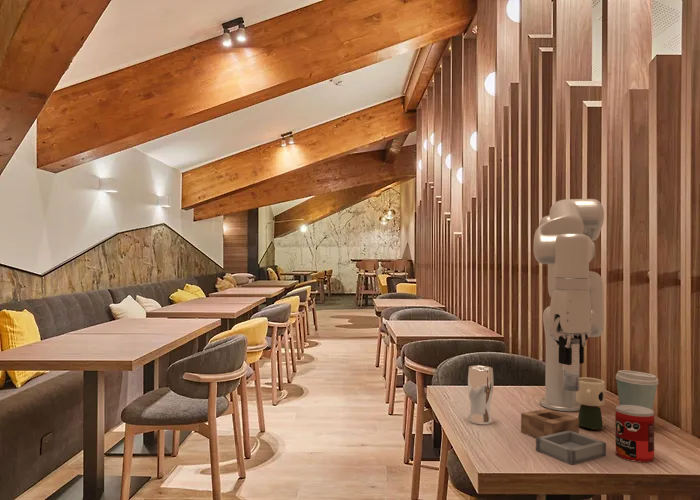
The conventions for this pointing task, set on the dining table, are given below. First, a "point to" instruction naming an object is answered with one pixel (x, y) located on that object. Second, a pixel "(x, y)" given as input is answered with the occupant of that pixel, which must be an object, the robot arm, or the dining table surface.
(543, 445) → the tray
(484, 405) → the beer glass
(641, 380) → the disposable coffee cup
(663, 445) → the dining table surface
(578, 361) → the pin
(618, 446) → the canned food
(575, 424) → the block
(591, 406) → the character mug
